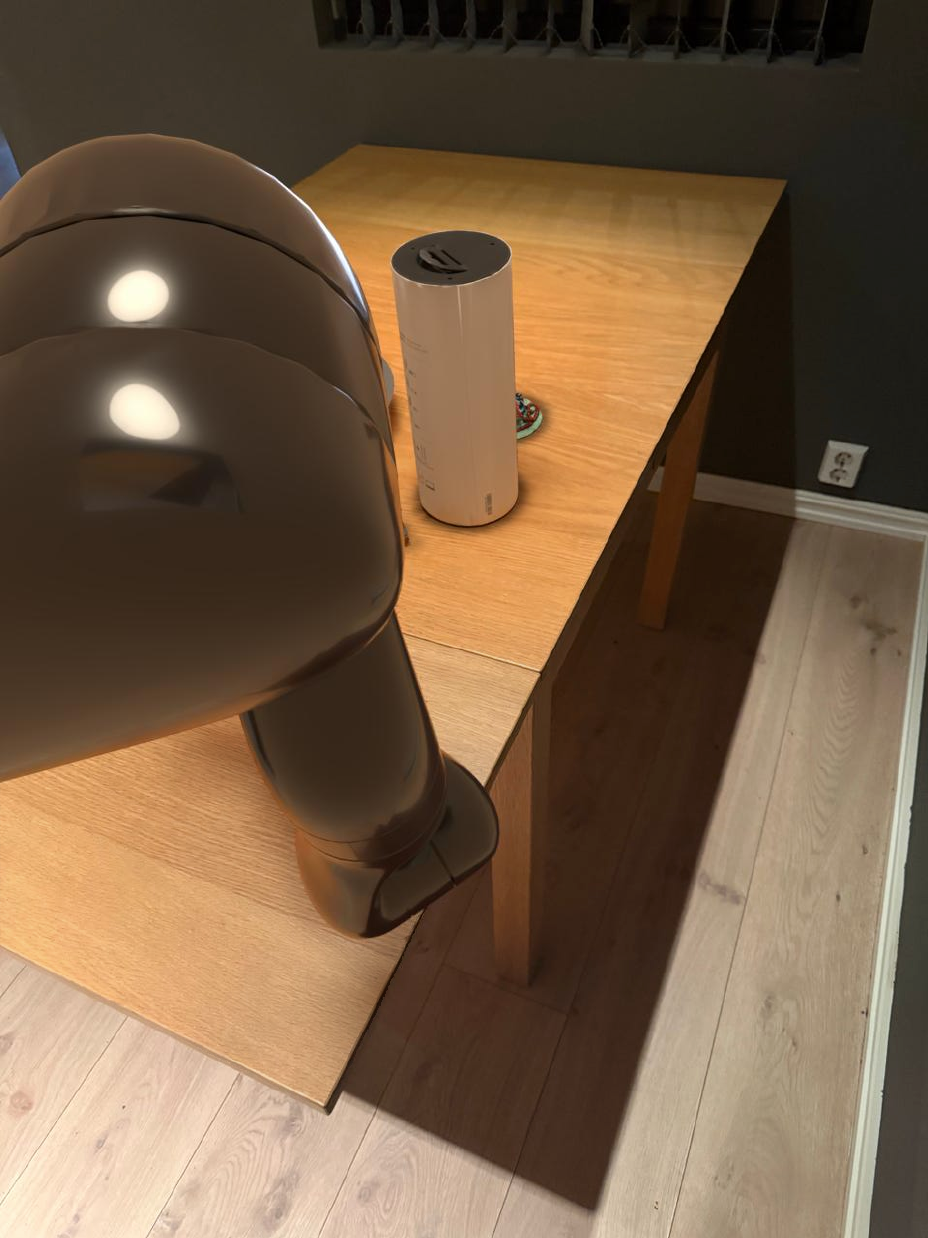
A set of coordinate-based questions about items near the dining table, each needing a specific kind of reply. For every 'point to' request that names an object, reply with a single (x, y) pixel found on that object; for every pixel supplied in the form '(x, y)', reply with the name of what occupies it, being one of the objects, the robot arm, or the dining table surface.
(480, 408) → the speaker
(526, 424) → the painted miniature figurine
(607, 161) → the dining table surface
